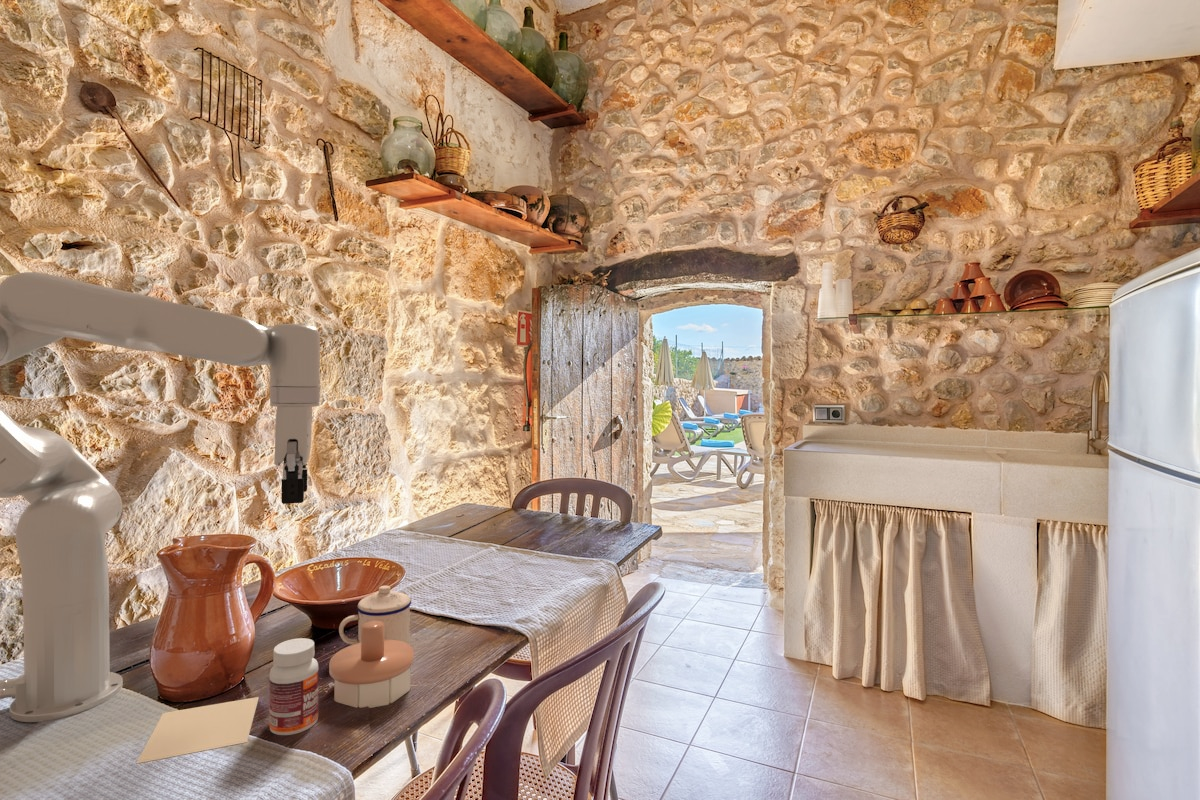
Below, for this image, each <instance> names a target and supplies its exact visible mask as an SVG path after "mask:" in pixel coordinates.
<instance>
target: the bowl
mask: <svg viewBox="0 0 1200 800" xmlns="http://www.w3.org/2000/svg"><path fill="white" fill-rule="evenodd" d="M411 667H412V666H411ZM411 667H410V668H409V669H408V670H407V671H405V672H404V673H402V674H400V675H398V676H396V677H394V678H391V679H389V680H386V681H382V682H377V683H371V684H358V685H356V684H346V683H342V682H339V681H336V680H335V679H333V680H334V681H333V685H334V688H333V689H334V693H333V694H334V695H333V696H334V698H333V700H334V701H335V702H336V703H338V704H343V705H346V706H349V707H353V708H357V709H358V707H359V709H360V708H366V707H368V709H372V708H373V709H374V708H376V707H377V708H378V707H383V706H388V705H390V704H394V702H396V701H397V700H398V699H400V698H401V697H403V696H404V695H405V694H407V693H408V692H409V691H410V690H411V687H412V686H411V685H412V684H411V682H412V681H411V677H412V674H411V671H412V670H411V669H412V668H411Z"/></svg>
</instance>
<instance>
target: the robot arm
mask: <svg viewBox="0 0 1200 800" xmlns="http://www.w3.org/2000/svg"><path fill="white" fill-rule="evenodd" d="M64 338H70V339H76V340H81V341H86V342H92V343H98V344H103V345H108V346H114V347H118V348H123V349H129V350H133V351H134V350H135V351H140V352H161V353H166V354H173V355H178V356H183V357H189V358H194V359H198V360H199V359H200V360H204V361H210V362H215V363H219V364H220V363H221V364H225V365H229V366H234V367H235V366H237V367H242V368H243V367H244V368H245V367H256V366H266V365H267V366H268V365H269V391H270V392H269V406H270V407H276V414H275V426H274V427H275V428H274V429H275V430H274V432H275V433H274V460H273V461H274V462H273V464H274V466H276V467H279V466H280V465H282V464H283V467H282V478H281V504H283V505H288V504H303V503H304V499H305V495H304V494H305V493H306V492H307V491H308V469H307V463H309V459H310V455H311V448H312V435H313V434H312V430H313V407H320V404H321V403H320V401H321V399H320V396H321V395H320V393H321V391H320V386H321V385H320V382H321V381H320V380H321V379H320V377H321V375H320V374H321V373H320V372H321V370H320V369H321V366H320V363H321V362H320V361H321V359H320V358H321V354H320V353H321V352H320V351H321V350H320V349H321V347H320V345H321V344H320V343H321V338H320V331H319V330H318V329H317V327H315V326H312V325H308V324H298V323H279V324H278V323H277V324H275V325H265V324H259V323H256V322H255V321H253V320H251V319H248V318H245V317H242V316H237V315H233V314H229V313H223V312H219V311H214V310H210V309H204V308H201V307H200V308H199V307H195V306H191V305H186V304H182V303H177V302H173V301H172V302H171V301H167V300H163V299H160V298H158V297H154V296H150V295H145V294H140V293H136V292H133V291H128V290H122V289H117V288H113V287H108V286H103V285H101V284H100V285H99V284H94V283H89V282H86V281H81V280H77V279H73V278H67V277H64V276H58V275H53V274H49V273H44V272H38V271H37V272H34V271H33V272H32V271H28V272H26V271H25V272H20V273H15V274H13V275H10V276H9V277H6V278H5V279H3V280H2V282H1V283H0V367H1V366H3V365H6V364H8V363H10V362H13V361H15V360H17V359H19V358H23V357H24V356H27V355H29V354H30V353H33V352H35V351H39V350H40V349H42V348H45V347H47V346H49V345H51V344H53V343H55V342H58V341H59V340H62V339H64ZM19 496H22V497H23V499H25V500H26V501H27V502H28V503H29V505H28V506H27V507H26V508H25V510H24V511H23V513H22V514H21V515H20V517H19V520H18V521H17V524H16V529H15V543H16V550H17V554H18V559H19V564H20V573H21V574H20V575H21V588H22V592H21V593H22V607H23V608H22V610H23V612H22V613H23V615H22V617H23V621H22V622H23V623H22V624H23V626H22V627H23V674H20V675H19V676H18V677H17V678H4V679H0V700H3V699H8V698H11V699H12V700H13V699H14V700H13V701H12V702H11V703H10V705H9V711H8V712H9V717H10V718H11V719H12V720H15V721H16V722H17V721H18V722H21V723H22V722H23V723H39V722H46V721H52V720H57V719H61V718H65V717H69V716H73V715H76V714H79V713H82V712H85V711H88V710H90V709H93V708H95V707H98V706H99V705H102V704H104V703H106V702H107V701H108V700H110V699H112V698H113V697H115V696H117V694H119V692H121V690H122V689H123V686H124V684H123V683H124V682H123V679H124V678H123V676H122V675H120V674H119V673H118V672H114V671H113V672H112V671H110V667H111V665H110V663H111V662H110V661H111V660H110V659H111V658H110V655H111V654H110V652H111V651H110V589H109V588H110V587H109V585H110V583H109V564H108V557H107V549H106V534H107V533H108V532H110V530H111V529H112V528H113V527H114V526H115V525H116V524H117V523H118V521H119V520H120V518H121V516H122V512H123V501H122V498H121V495H120V493H119V492H118V491H117V489H116V488H115V486H113V484H112V483H111V482H110V481H109V480H108V479H107V478H106V477H105V476H104V475H103V474H102V473H101V472H100V471H99V470H98V469H97V468H96V467H95V466H94V465H93V464H92V463H91V462H90V461H89V460H88V459H87V458H86V457H85V456H84V455H83V453H81V452H80V451H79V449H77V448H76V447H75V446H74V445H73V444H72V443H71V442H70V441H69V440H68V439H66V438H65V437H63V436H61V435H60V434H58V433H57V432H54V431H52V430H50V429H47V428H43V427H42V428H41V427H35V426H34V427H33V426H24V427H23V426H22V425H20V424H19V423H18V422H17V421H15V419H13V418H12V417H11V416H10V415H9V414H8V413H7V412H6V411H5V410H4V409H3V408H2V407H1V406H0V499H7V498H8V499H9V498H14V497H19ZM120 689H121V690H120Z"/></svg>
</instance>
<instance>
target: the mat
mask: <svg viewBox="0 0 1200 800" xmlns="http://www.w3.org/2000/svg"><path fill="white" fill-rule="evenodd" d="M259 698H260V696H255V697H250V698H249V697H248V698H244V699H238V700H234V701H233V700H232V701H225V702H219V703H214V704H207V705H202V706H198V707H197V706H196V707H191V708H186V709H180V710H173V711H166V712H162V714H161V716H160V718H159V720H158V721H157V724H156V725H155V728H154V730H153V731H152V733H151V734H150V737H149V739H148V741H147V743H146V744H145V745H144V748H143V750H142V751H141V754H140V755H139V757H138V759H137V760H136V763H138V764H143V763H147V762H153V761H158V760H163V759H168V758H169V759H170V758H175V757H178V756H179V757H180V756H183V755H191V754H194V753H199V752H205V751H210V750H214V749H215V750H216V749H221V748H226V747H230V746H236V745H241V744H246V743H248V740H249V736H250V733H251V730H252V729H251V728H252V726H253V721H254V718H255V714H256V709H257V707H258V703H259ZM138 764H137V765H138Z"/></svg>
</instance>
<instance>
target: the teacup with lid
mask: <svg viewBox="0 0 1200 800" xmlns="http://www.w3.org/2000/svg"><path fill="white" fill-rule="evenodd" d="M411 605H412V600H411V598H410V597H409V595H407V594H406V593H404V592H400V591H399V592H398V591H396V590H392V589H391V587H390V585H381V586H379V588H378V591H376V592H374V593H372V594H369V595H366V596H364V598H361V599H360V600H359V602H358V604H357V607H356V610H357V612H358V614H353V615H348V616H347V617H345V618H343V620H342V621H341V622H340V624H339V627H338V633H339V636H340V638H341V640H342V641H343V642H344V643H346V644H347V645H354V644H357V643H360V642H361V626H362V625H363V624H364V623H367V622H371V621H381V622H383V623H384V639H389V640H398V641H402V642H405V643H407V644H409V645H410V621H411V620H410V613H411V611H410V610H411V609H410V608H411V607H410V606H411ZM355 621H358V627H357V628H358V629H357V631H358V632H357V633H358V634H357V637H356V638H350V637H347V636H346V634H345V633H344V630H345V629H344V628H345V626H346V625H347V624H348V623H351V622H355Z"/></svg>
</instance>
